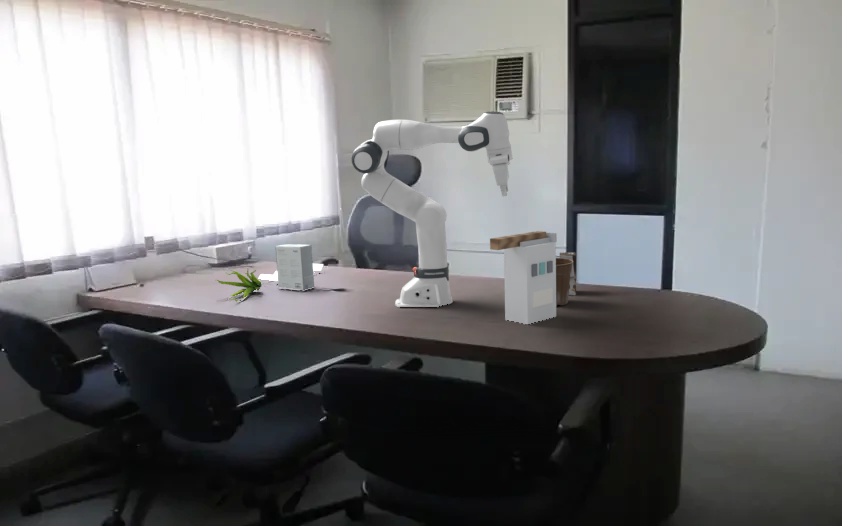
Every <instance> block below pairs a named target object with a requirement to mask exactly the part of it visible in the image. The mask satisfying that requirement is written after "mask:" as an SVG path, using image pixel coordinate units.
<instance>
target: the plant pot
mask: <svg viewBox="0 0 842 526" xmlns="http://www.w3.org/2000/svg"><path fill="white" fill-rule="evenodd" d="M572 264H573V260H570V259H565V258H560V257H556V307H557V306H566V305H568V303H569V296H570V295H569V283H570V273H571V271H572Z"/></svg>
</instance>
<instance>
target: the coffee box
mask: <svg viewBox="0 0 842 526" xmlns="http://www.w3.org/2000/svg"><path fill="white" fill-rule="evenodd" d="M559 258H565V259H570V260H573V264H572V271H571V273H570V283H569V295H568V296H576V295H577V254H576V252H575V251H573V252H572V251H570V252H569V251H568V252H567V251H566V252H565V251H564V252H559Z"/></svg>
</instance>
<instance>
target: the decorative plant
mask: <svg viewBox="0 0 842 526" xmlns="http://www.w3.org/2000/svg"><path fill="white" fill-rule="evenodd" d="M229 270H230V271H231V273H227V272H226V271H225V269H223V271H224V273H225V274H227V275H228V276H230V275H236V276H237V278H238V279H239V281H241V282H237V281H223V280H218V279H216V282H218V283H219V284H222V285H229V286H233V287H241V289H240V290H238V291H237V292H235V293H233V294H231V295H230V296H233V297H234V298H233V297H232V298H230V301H233V300H234V301H235V302H237V301H238V300H239V299H237V298H235V297H236V296H239V295H241V294H243V296H242V297H243V298H244V297H246V296H247V297H248V296H249V295H250V293H253V292H252V291H254V290H256V289H257V291H260V290H261V287H262V284H261V281H260V280H258V278H257V276H256V275H254V273H255V272H256V271H257V269H254V270H253V271H252V272H250V273H249V269H247V270H246V271H247V272H244V274H245V275H246V276H247V277H246V276H245V275H243V274H241V273H239V271H236V270H231V268H229ZM248 278H249V279H248ZM259 289H260V290H259ZM242 292H243V293H242ZM238 294H239V295H238ZM235 295H236V296H235Z"/></svg>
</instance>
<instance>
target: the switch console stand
mask: <svg viewBox="0 0 842 526" xmlns="http://www.w3.org/2000/svg"><path fill="white" fill-rule="evenodd" d="M557 235H558V234H557V232H546V238H542V239H536V240H530V241H524V242H520V247H514V248H508V249H503V269H504V270H503V271H504V272H503V273H504V274H503V275H504V280H503V281H504V315H505V316H504V320H505V321H507V320H509V321H508V322H511V321H514V322H513V323H516V322H519V323H518V324H521V323H523V324H522V325H525V324H530V325H532V324H531V323H533V324H535V323H534V322H536V323H539V322H538V321H540V322H542V320H543V321H547V320H550V319H553V317H554V318H556V317H557V306H556V258H557V255H556V254H557V252H556V250H557V249H556V247H557V239H558V238H557ZM549 318H550V319H549ZM546 319H547V320H546Z"/></svg>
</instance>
